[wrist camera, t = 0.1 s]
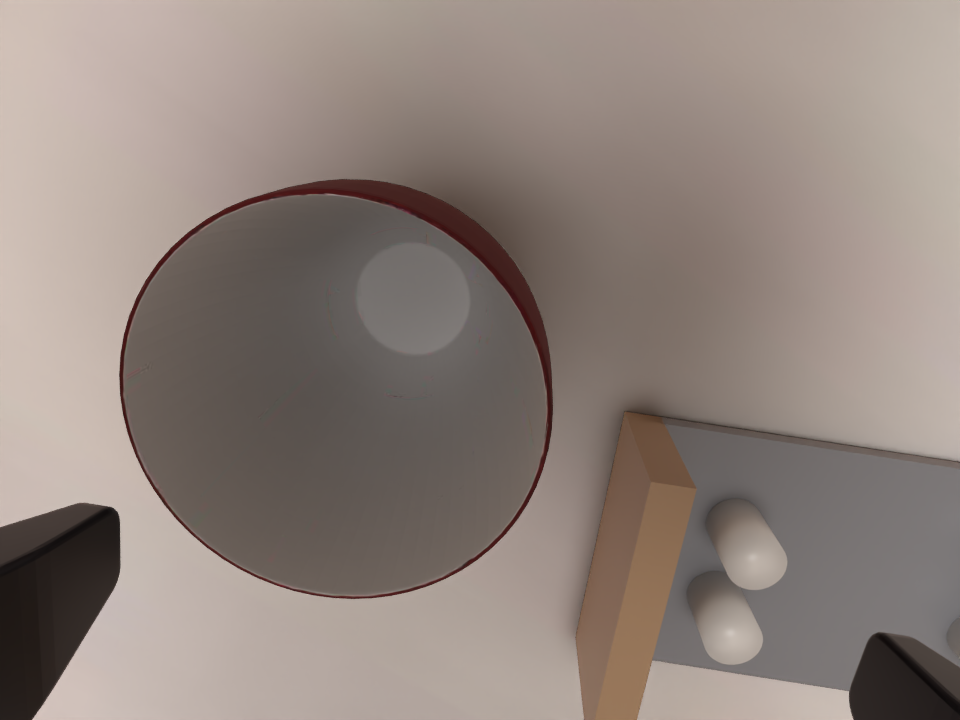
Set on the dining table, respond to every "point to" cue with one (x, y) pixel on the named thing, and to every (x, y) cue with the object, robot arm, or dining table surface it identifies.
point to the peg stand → (762, 558)
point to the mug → (340, 388)
